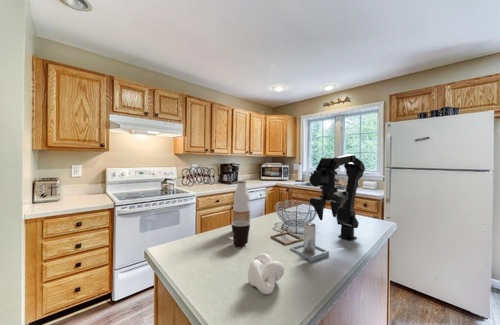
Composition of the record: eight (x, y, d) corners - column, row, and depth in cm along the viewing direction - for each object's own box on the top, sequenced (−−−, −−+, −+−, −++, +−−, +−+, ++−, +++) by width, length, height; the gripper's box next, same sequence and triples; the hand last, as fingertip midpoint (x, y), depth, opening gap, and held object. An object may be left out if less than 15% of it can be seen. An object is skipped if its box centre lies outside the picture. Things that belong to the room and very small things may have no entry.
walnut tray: (287, 235, 114) (287, 231, 114) (303, 242, 104) (303, 238, 104) (270, 239, 108) (270, 235, 108) (285, 247, 98) (285, 243, 98)
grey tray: (308, 246, 100) (308, 242, 100) (328, 255, 91) (328, 251, 91) (290, 252, 94) (290, 247, 94) (309, 262, 85) (310, 257, 85)
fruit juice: (234, 235, 114) (234, 182, 113) (231, 229, 123) (231, 180, 123) (251, 233, 116) (251, 181, 115) (248, 228, 125) (248, 179, 125)
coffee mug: (247, 249, 97) (247, 226, 97) (229, 247, 99) (229, 225, 99) (252, 239, 108) (252, 219, 108) (235, 238, 110) (235, 218, 110)
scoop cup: (305, 249, 96) (305, 221, 95) (316, 251, 93) (316, 223, 93) (302, 253, 92) (302, 224, 91) (313, 256, 89) (314, 226, 89)
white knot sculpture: (279, 274, 76) (279, 249, 76) (289, 296, 64) (289, 267, 64) (246, 276, 75) (247, 251, 75) (251, 299, 63) (251, 269, 63)
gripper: (329, 188, 88) (329, 226, 88) (357, 185, 97) (356, 219, 98) (308, 185, 97) (308, 219, 97) (335, 182, 107) (335, 214, 107)
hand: (327, 218), depth 100 cm, fingers open, 9 cm apart
